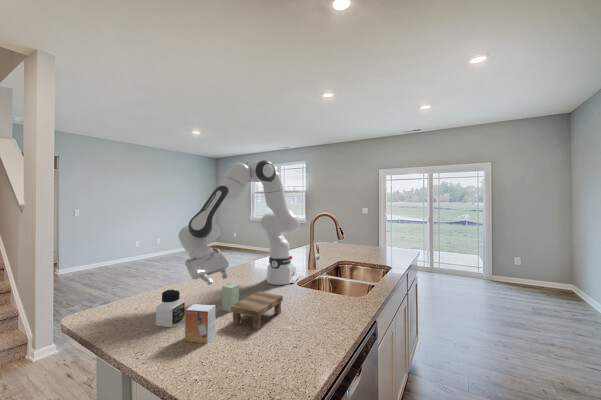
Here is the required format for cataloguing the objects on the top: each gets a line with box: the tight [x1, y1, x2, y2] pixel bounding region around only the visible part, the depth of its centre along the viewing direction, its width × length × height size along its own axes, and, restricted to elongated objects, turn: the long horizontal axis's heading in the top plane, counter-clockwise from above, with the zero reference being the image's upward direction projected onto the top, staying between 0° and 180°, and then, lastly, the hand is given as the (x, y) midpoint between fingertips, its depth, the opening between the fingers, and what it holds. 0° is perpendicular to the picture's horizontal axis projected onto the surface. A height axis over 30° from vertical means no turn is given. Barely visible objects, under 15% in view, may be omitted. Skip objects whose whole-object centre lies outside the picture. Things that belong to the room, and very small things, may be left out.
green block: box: [221, 282, 240, 313], centre depth 114 cm, size 5×5×10 cm
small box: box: [184, 303, 216, 345], centre depth 89 cm, size 8×6×10 cm
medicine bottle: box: [155, 288, 186, 328], centre depth 101 cm, size 7×7×12 cm
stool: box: [230, 291, 284, 332], centre depth 105 cm, size 18×12×7 cm, turn 155°
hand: (218, 280), depth 117 cm, fingers open, 8 cm apart
